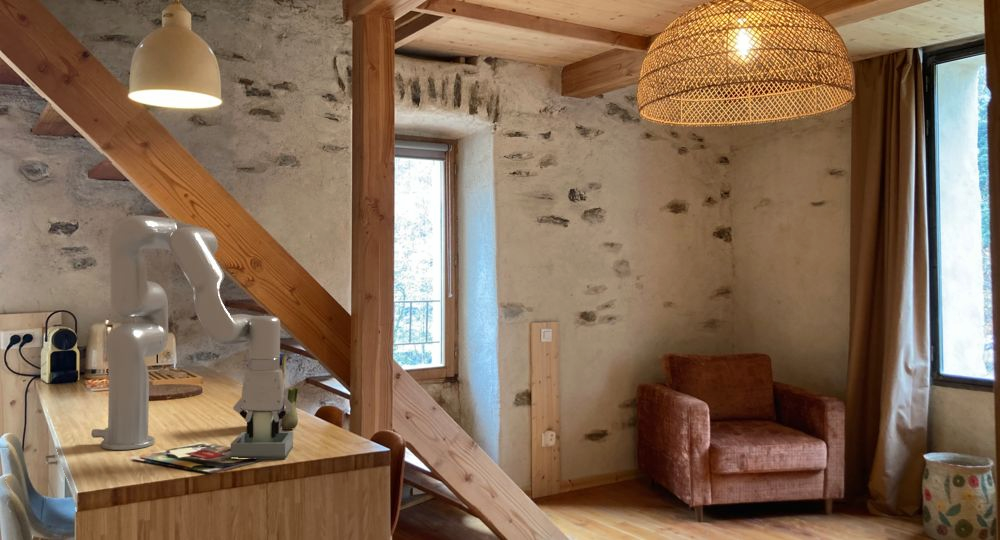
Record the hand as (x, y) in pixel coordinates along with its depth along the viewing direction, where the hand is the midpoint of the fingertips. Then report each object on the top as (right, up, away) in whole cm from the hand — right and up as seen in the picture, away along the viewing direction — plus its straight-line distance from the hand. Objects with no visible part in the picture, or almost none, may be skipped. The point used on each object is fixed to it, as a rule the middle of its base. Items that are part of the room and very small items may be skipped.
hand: (262, 435), depth 198 cm
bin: (0, -4, 0) cm, 4 cm away
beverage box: (-8, -4, +29) cm, 31 cm away
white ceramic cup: (0, -2, 0) cm, 2 cm away
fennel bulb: (-1, -4, +28) cm, 28 cm away
